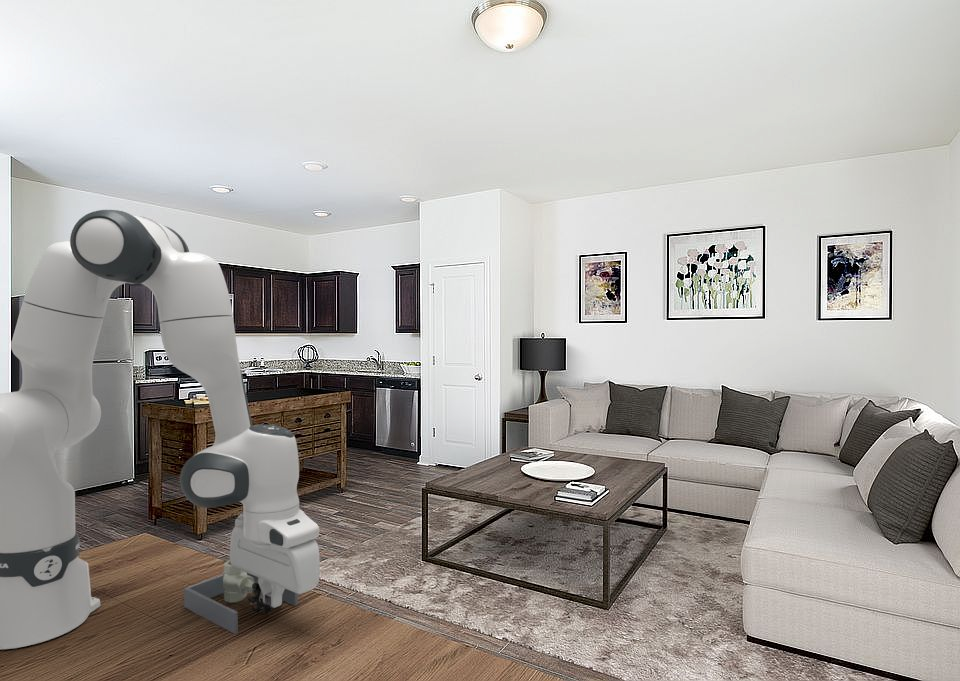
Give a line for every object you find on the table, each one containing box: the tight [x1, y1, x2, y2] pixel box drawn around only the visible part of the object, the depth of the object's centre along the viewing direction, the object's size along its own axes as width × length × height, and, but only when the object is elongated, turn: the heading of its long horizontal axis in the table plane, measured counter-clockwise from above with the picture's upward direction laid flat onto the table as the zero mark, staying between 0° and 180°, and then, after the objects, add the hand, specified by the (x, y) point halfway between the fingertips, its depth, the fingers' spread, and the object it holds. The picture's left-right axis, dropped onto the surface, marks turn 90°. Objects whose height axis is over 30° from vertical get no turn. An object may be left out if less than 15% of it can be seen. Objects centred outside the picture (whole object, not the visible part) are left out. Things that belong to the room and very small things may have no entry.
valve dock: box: [183, 572, 299, 635], centre depth 103 cm, size 16×12×3 cm
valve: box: [223, 559, 272, 614], centre depth 103 cm, size 7×7×12 cm
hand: (272, 604), depth 98 cm, fingers closed
